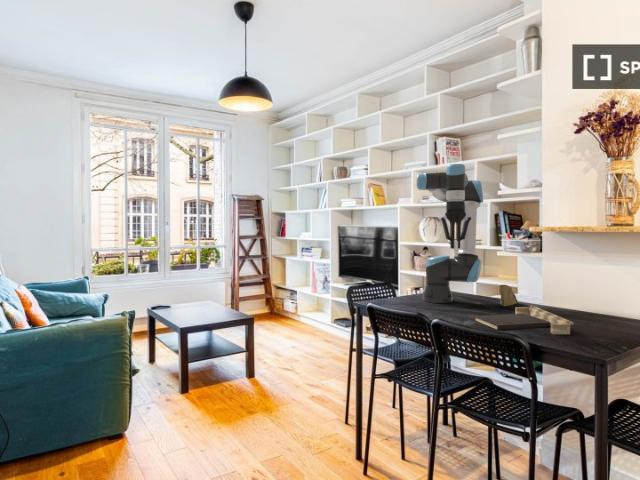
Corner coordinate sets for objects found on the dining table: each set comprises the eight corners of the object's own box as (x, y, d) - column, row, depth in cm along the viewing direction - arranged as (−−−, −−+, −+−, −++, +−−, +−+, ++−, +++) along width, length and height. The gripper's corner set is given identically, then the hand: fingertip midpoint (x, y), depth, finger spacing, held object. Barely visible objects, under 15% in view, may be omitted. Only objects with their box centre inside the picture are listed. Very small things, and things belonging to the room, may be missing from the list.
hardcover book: (474, 321, 178) (474, 316, 178) (524, 318, 182) (524, 313, 182) (497, 331, 162) (497, 325, 162) (550, 328, 166) (550, 322, 166)
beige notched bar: (515, 315, 186) (515, 305, 186) (532, 315, 186) (533, 305, 186) (552, 334, 155) (552, 322, 155) (573, 334, 155) (573, 322, 155)
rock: (514, 297, 217) (494, 294, 217) (520, 285, 212) (501, 283, 212) (520, 313, 209) (500, 311, 209) (527, 301, 203) (507, 299, 203)
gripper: (442, 200, 178) (442, 257, 179) (473, 200, 177) (473, 256, 178) (437, 201, 185) (437, 255, 186) (468, 201, 185) (467, 255, 186)
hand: (455, 256), depth 182 cm, fingers closed
